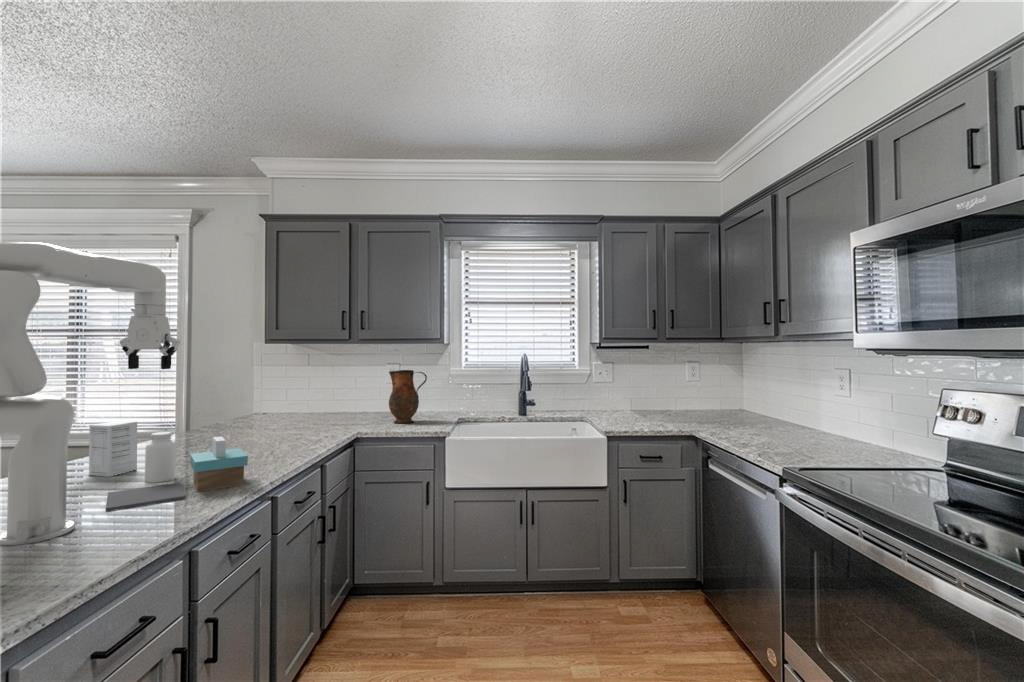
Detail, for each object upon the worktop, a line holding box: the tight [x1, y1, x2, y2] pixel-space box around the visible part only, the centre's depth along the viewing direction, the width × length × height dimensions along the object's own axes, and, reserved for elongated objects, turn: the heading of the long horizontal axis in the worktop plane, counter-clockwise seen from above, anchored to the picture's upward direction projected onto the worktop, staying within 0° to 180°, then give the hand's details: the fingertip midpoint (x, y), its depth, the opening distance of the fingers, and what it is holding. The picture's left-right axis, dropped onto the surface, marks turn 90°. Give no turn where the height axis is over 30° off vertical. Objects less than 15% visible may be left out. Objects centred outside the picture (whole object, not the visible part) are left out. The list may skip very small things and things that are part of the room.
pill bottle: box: [144, 431, 177, 484], centre depth 152 cm, size 8×8×15 cm
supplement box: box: [88, 420, 138, 478], centre depth 160 cm, size 10×9×17 cm
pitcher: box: [388, 369, 428, 425], centre depth 271 cm, size 17×21×30 cm
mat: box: [105, 482, 186, 512], centre depth 135 cm, size 17×17×1 cm
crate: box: [192, 466, 245, 492], centre depth 149 cm, size 12×12×8 cm
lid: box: [189, 436, 249, 473], centre depth 149 cm, size 14×14×8 cm
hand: (149, 368), depth 142 cm, fingers open, 9 cm apart
